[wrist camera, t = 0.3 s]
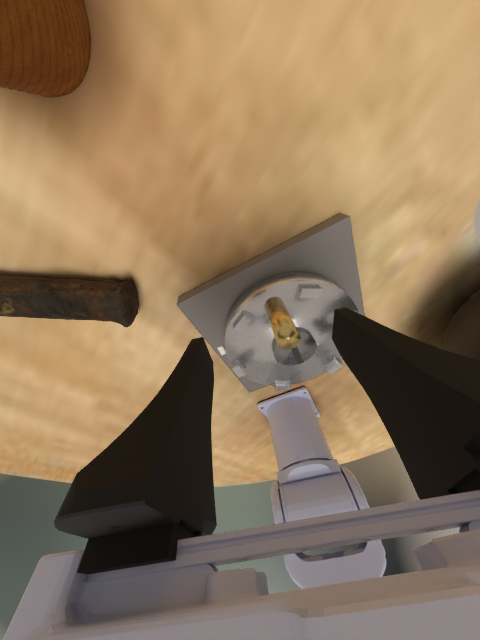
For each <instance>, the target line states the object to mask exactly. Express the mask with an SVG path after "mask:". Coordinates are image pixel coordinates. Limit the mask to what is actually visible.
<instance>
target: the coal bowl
mask: <svg viewBox="0 0 480 640" xmlns="http://www.w3.org/2000/svg"><path fill="white" fill-rule="evenodd" d="M441 349H443V350H446V351H449V352H452V353H456V354H459V355H462V356H466V357H469V358H472V359H476V360H480V290H479V291H478V292H476V293H475V294H474V295H473V296H471V297H470V298H469V299H468V300H467V301H466V302H465V303H464V304H463V305H462V306H461V307H460V308H459V309H458V310H457V312H456V313H455V314H454V316H453V317H452V319H451V320H450V322H449V324H448V326H447V328H446V330H445V332H444V336H443V339H442V343H441Z"/></svg>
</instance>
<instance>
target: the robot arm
mask: <svg viewBox="0 0 480 640" xmlns="http://www.w3.org/2000/svg"><path fill="white" fill-rule="evenodd" d="M332 340H333V342H334V344H335V346H336V348H337V350H338V352H339V354H340V355H341V357H342V358H343V360H344V361H345V363H346V364H347V366H348V367H349V368H350V370H351V371H352V373H353V374H354V376H355V377H356V378H357V380H358V381H359V383H360V384H361V386H362V387H363V388H364V390H365V391H366V393H367V395H368V396H369V398H370V400H371V401H372V403H373V405H374V407H375V409H376V410H377V412H378V414H379V416H380V418H381V420H382V422H383V423H384V425H385V427H386V429H387V431H388V433H389V435H390V437H391V439H392V441H393V443H394V445H395V447H396V449H397V451H398V453H399V455H400V457H401V459H402V461H403V464H404V466H405V468H406V470H407V472H408V475H409V477H410V479H411V481H412V483H413V486H414V488H415V490H416V493H417V495H418V497H419V498H420V500H416V501H410V502H404V503H399V504H393V505H386V506H380V507H374V508H369V505H368V503H367V501H366V498H365V496H364V494H363V491H362V489H361V487H360V485H359V483H358V481H357V480H356V478H355V476H354V475H353V474H352V472H351V471H349V470H348V469H347V468H346V467H339V464H338V462H337V460H336V459H333V457H332V454H331V452H330V449H329V447H328V444H327V442H326V439H325V437H324V434H323V432H322V429H321V427H320V424H319V422H318V419H317V418H319V417H320V414H319V412H318V410H317V408H316V406H315V404H314V402H313V400H312V398H311V396H310V394H309V392H308V390H307V388H306V387H302V388H299V389H296V390H294V391H291V392H288V393H285V394H282V395H280V396H277V397H274V398H271V399H269V400H266V401H263V402H260V403H258V404H257V407H258V408H259V409H260V411H261V412H262V413H263V414H264V415H265V416H266V418H267V419H268V421H269V426H270V430H271V435H272V440H273V445H274V450H275V455H276V460H277V465H278V470H279V472H277V476H278V480H277V481H274V483H273V485H272V488H271V501H272V508H273V514H274V520H275V524H272V525H266V526H260V527H253V528H247V529H242V530H235V531H230V532H224V533H218V534H212V533H213V531H214V530H215V527H216V525H217V524H216V513H215V499H214V485H213V468H212V444H211V415H212V401H213V386H214V371H213V361H212V359H211V356H210V354H209V351H208V349H207V346H206V344H205V341H204V339H203V337H201V338H196V339H192V340H191V342H190V344H189V345H188V347H187V349H186V351H185V352H184V354H183V356H182V357H181V359H180V361H179V362H178V364H177V366H176V367H175V369H174V371H173V372H172V374H171V375H170V377H169V378H168V380H167V381H166V383H165V384H164V385H163V387H162V388H161V390H160V391H159V392H158V394H157V395H156V396H155V397H154V399H153V400H152V401H151V402H150V404H149V405H148V406H147V407H146V408H145V409H144V410H143V411H142V413H141V414H140V415H139V416H138V417H137V418H136V419H135V420H134V421H133V423H132V424H131V425H130V426H129V427H128V428H127V429H126V430H125V431H124V432H123V433H122V434H121V435H120V436H119V437H118V438H117V439H115V440H114V441H113V442H112V443H111V444H110V445H109V446H108V447H107V448H106V449H105V450H104V451H103V452H101V453H100V454H99V455H98V456H97V457H96V458H95V459H93V460H92V461H91V462H90V463H89V464H88V465H87V466H85V467H84V468H83V469H82V470H81V471H79V472H78V473H77V474H76V476H75V478H74V481H73V483H72V485H71V487H70V489H69V491H68V493H67V495H66V498H65V500H64V502H63V504H62V506H61V508H60V510H59V512H58V514H57V516H56V519H55V521H54V524H55V527H56V528H57V529H58V530H60V531H63V532H66V533H69V534H73V535H77V536H81V537H84V538H88V539H89V540H88V543H87V545H86V548H85V551H83V550H78V551H70V552H63V553H57V554H51V555H45V556H43V557H42V558H41V559H40V560H39V563H38V565H37V567H36V569H35V571H34V573H33V575H32V578H31V580H30V582H29V584H28V586H27V588H26V591H25V593H24V595H23V597H22V599H21V601H20V604H19V606H18V608H17V610H16V613H15V615H14V617H13V619H12V621H11V623H10V625H9V627H8V630H7V632H6V634H5V636H4V638H3V640H480V360H476V359H472V358H469V357H466V356H462V355H459V354H456V353H452V352H449V351H446V350H443V349H440V348H437V347H434V346H432V345H429V344H426V343H423V342H421V341H418V340H415V339H413V338H410V337H408V336H406V335H403V334H401V333H399V332H396V331H394V330H392V329H390V328H388V327H385V326H383V325H381V324H379V323H377V322H375V321H373V320H371V319H369V318H367V317H365V316H363V315H361V314H359V313H357V312H355V311H353V310H351V309H349V308H346V307H345V308H340V309H335V310H334V319H333V329H332ZM456 527H460V531H459V532H460V533H458V534H453V535H449V536H445V537H440V538H436V539H433V540H432V541H431V542H430V543H428V544H425V545H423V546H420V547H417V548H414V550H413V552H414V554H415V556H416V558H417V560H418V562H419V564H420V566H421V568H422V571H418V572H411V573H404V574H397V575H391V576H384V577H382V576H383V573H384V571H385V568H386V558H385V550H384V547H383V545H382V543H381V539H387V538H393V537H400V536H406V535H412V534H418V533H424V532H431V531H438V530H444V529H450V528H456ZM355 543H359V545H358V546H357V547H355V548H353V549H349V550H343V551H337V552H331V553H325V554H319V555H314V556H310V555H305V554H304V553H302V552H306V551H312V550H318V549H324V548H331V547H337V546H343V545H350V544H355ZM280 555H284V560H285V565H286V569H287V570H288V571H289V575H290V577H291V579H292V580H293V581H294V582H295V583H296V584H297V585H298V586H299V587H300V588H301V590H294V591H288V592H281V593H275V594H269V593H268V587H267V578H266V574H265V573H264V572H256V570H255V569H254V568H247V569H235V570H224V571H218V569H217V568H216V567H215V566H218V565H224V564H230V563H236V562H242V561H249V560H255V559H262V558H268V557H274V556H280Z"/></svg>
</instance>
